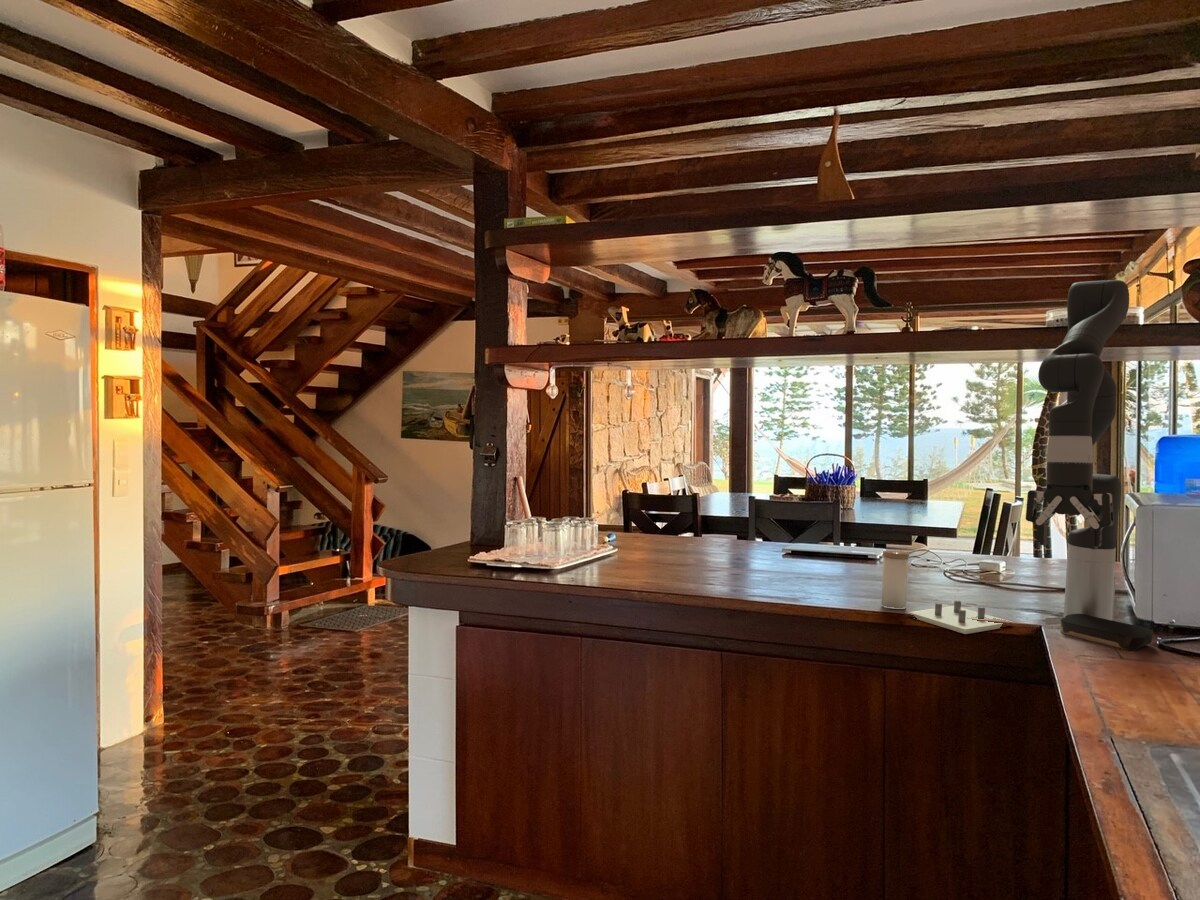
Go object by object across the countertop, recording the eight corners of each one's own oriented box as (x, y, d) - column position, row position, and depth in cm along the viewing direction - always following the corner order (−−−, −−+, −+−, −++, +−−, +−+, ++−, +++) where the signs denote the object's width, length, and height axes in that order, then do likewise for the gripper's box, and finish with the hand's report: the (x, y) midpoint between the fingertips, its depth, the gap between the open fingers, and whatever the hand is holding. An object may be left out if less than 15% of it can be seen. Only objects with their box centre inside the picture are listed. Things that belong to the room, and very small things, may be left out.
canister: (892, 603, 198) (895, 549, 197) (912, 608, 193) (914, 553, 192) (875, 605, 196) (877, 551, 195) (894, 611, 190) (896, 555, 190)
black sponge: (1157, 648, 167) (1158, 630, 166) (1135, 654, 162) (1137, 635, 162) (1075, 628, 181) (1076, 612, 180) (1053, 633, 176) (1054, 616, 176)
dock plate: (953, 609, 193) (954, 595, 193) (1011, 626, 180) (1012, 610, 180) (908, 616, 186) (908, 601, 186) (965, 634, 173) (965, 617, 173)
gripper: (1118, 461, 153) (1116, 549, 152) (1034, 460, 162) (1033, 542, 162) (1107, 461, 147) (1106, 552, 147) (1022, 459, 157) (1020, 545, 157)
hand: (1068, 547), depth 155 cm, fingers open, 8 cm apart
